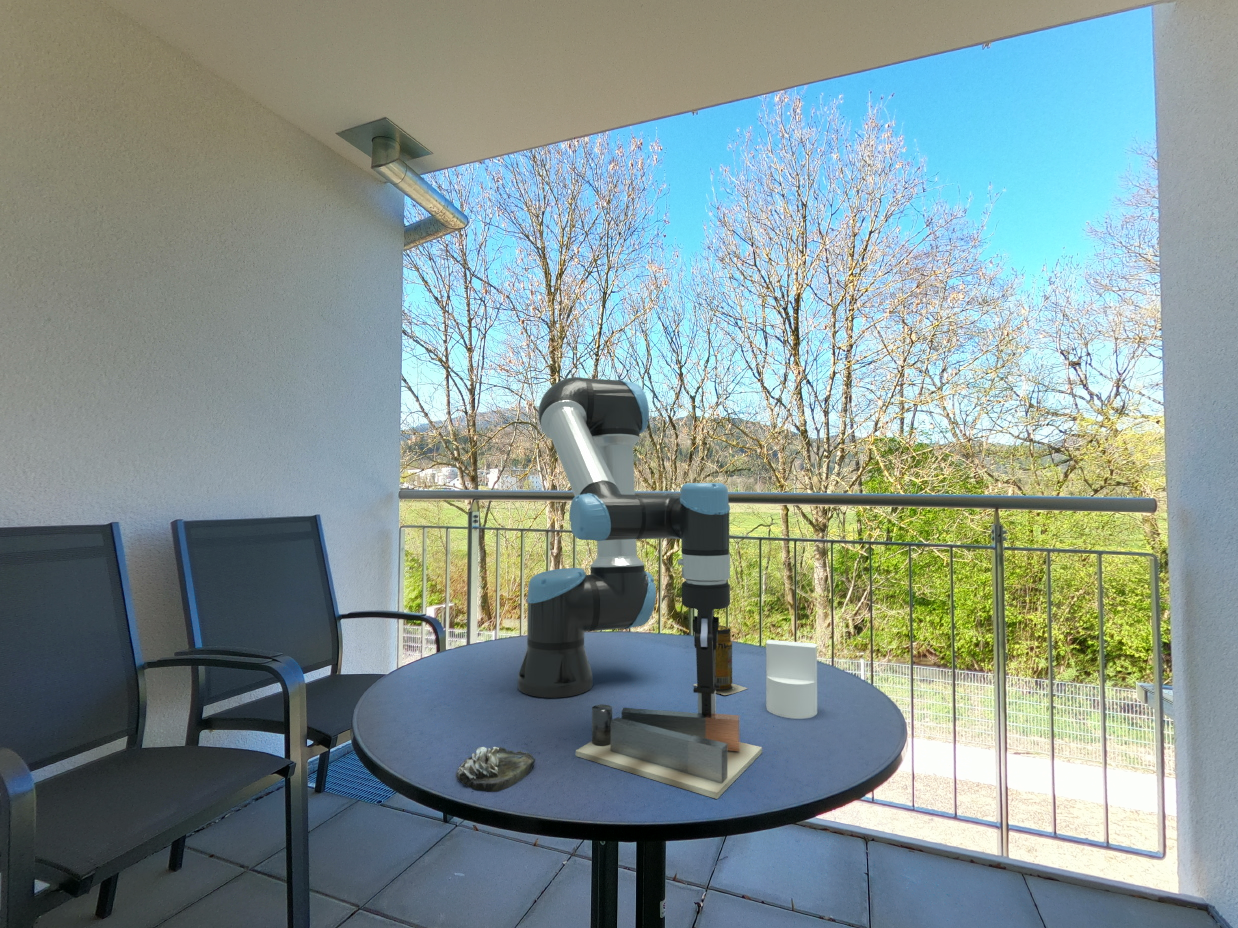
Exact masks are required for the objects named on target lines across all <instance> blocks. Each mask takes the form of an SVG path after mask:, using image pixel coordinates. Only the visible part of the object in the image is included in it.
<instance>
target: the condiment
mask: <svg viewBox="0 0 1238 928" xmlns="http://www.w3.org/2000/svg"><path fill="white" fill-rule="evenodd" d="M715 675H716V680H715V683H718V684H720V689H715V690H716V694H718V695H720V694H721V695H723V696H727V695H733V694H736V693H739V692H741V691H745V690H748V687H745V686H742V685H738V684H736V683H735V684H734V683H733V642H732V640H731V628H730V627H729V626H726V625H720V624H719V628H718V642H717V648H716V649H715ZM693 686H694V687H697V683H694V684H693Z"/></svg>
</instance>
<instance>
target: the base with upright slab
mask: <svg viewBox="0 0 1238 928" xmlns="http://www.w3.org/2000/svg"><path fill="white" fill-rule="evenodd" d="M817 647H818V645H817V643H811V642H801V641H800V642H799V641H787V640H778V639H777V640H776V639H767V640H766V642H765V650H766V651H765V654H766V655H765V661H766V662H765V669H766V671H765V674H766V675H765V685H766V686H765V687H766V688H765V690H766V691H765V692H766V693H765V694H766V695H765V698H766V699H765V700H766V702H765V704H766V710H767V711H768V712H769V713H771V714H773V715H776V716H778V717H781V718H785V719H786V718H787V719H792V720H794V719H796V720H798V719H799V720H803V719H805V720H806V719H811V718H813V717H815V716H817V714H818V648H817Z"/></svg>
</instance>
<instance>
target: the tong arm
mask: <svg viewBox="0 0 1238 928" xmlns="http://www.w3.org/2000/svg"><path fill="white" fill-rule="evenodd" d="M620 718H622V719H626V720H630V721H634V722H638V723H643V724H647V725H651V726H655V727H659V728H663V729H667V730H671V731H675V732H679V733H683V734H687V735H691V736H694V735H695V736H699V737H703V738H707V739H711V740H715V741H719V742H723V743H727V750H729V751H739V742H740V715H739V714H738V715H737V714H725V713H716V714H713V713H711V715H702V713H698V712H689V711H688V712H687V711H685V712H684V711H672V710H660V709H648V708H647V709H646V708H633V707H631V708H630V707H622V710H621V716H620Z"/></svg>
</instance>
